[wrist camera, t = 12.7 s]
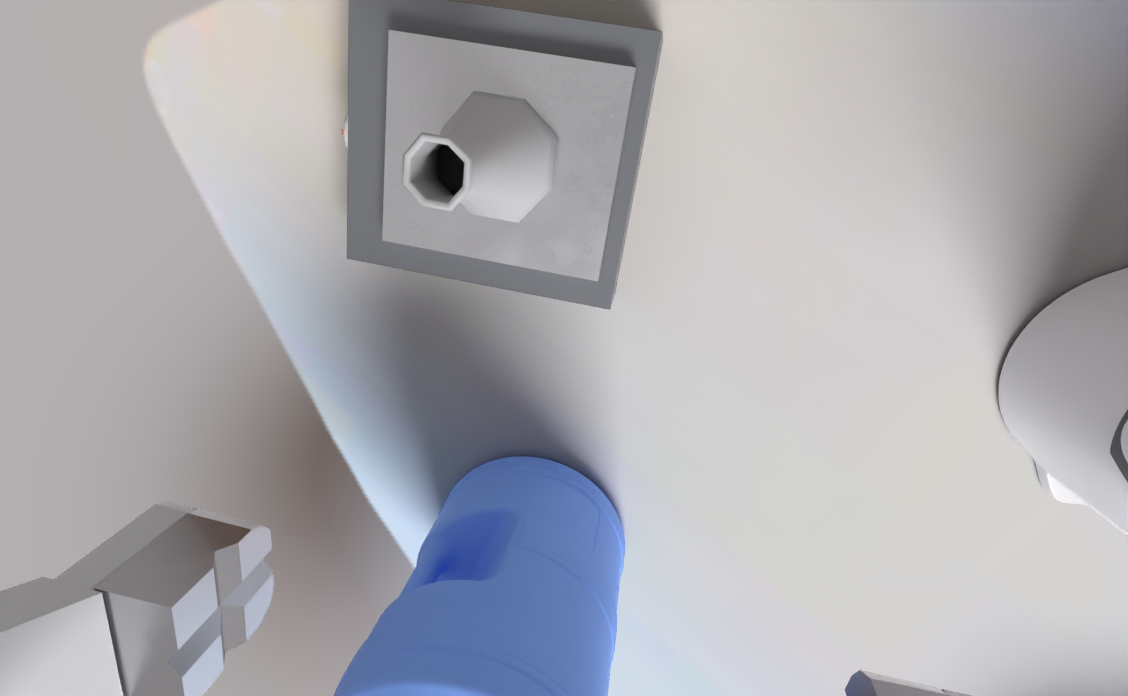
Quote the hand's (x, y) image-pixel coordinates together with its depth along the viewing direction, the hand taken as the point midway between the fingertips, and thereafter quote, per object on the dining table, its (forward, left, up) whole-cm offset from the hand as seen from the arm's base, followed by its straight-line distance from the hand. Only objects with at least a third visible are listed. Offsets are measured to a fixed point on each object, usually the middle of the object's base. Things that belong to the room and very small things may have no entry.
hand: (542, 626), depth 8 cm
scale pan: (+9, -3, -30) cm, 31 cm away
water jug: (+4, +27, -34) cm, 44 cm away
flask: (+9, -3, -29) cm, 31 cm away
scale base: (+10, -3, -34) cm, 36 cm away
